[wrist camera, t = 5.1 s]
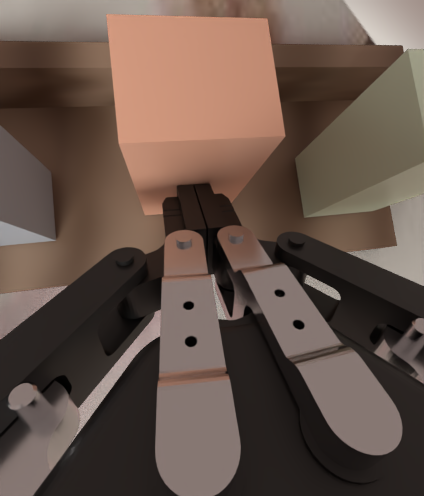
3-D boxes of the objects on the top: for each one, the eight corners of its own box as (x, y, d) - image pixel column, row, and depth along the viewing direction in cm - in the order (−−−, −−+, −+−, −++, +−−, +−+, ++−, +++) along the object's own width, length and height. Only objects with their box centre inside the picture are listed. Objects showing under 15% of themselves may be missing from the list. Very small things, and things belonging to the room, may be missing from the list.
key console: (-51, 299, 16) (-137, 307, 12) (-58, 98, 17) (-139, 33, 13) (380, 248, 21) (441, 238, 16) (352, 91, 22) (401, 40, 17)
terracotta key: (145, 215, 17) (118, 143, 8) (138, 150, 17) (106, 14, 8) (226, 208, 18) (285, 136, 9) (218, 147, 18) (267, 18, 9)
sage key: (304, 217, 18) (429, 159, 10) (294, 158, 19) (407, 48, 10) (373, 211, 19) (548, 151, 10) (362, 154, 20) (523, 50, 11)
